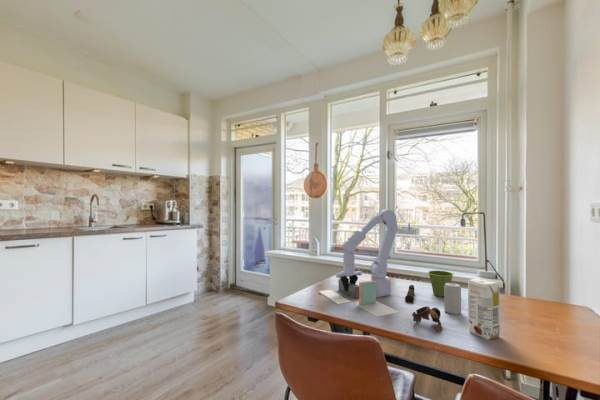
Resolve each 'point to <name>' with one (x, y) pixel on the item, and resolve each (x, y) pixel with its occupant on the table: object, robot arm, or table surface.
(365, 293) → the tile
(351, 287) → the dark grey block
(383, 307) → the mat
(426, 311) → the brown toy animal
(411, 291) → the hand tool
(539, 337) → the table surface
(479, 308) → the juice carton
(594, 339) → the table surface
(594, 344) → the table surface
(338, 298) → the tool rest
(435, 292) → the plant pot
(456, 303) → the beverage can
